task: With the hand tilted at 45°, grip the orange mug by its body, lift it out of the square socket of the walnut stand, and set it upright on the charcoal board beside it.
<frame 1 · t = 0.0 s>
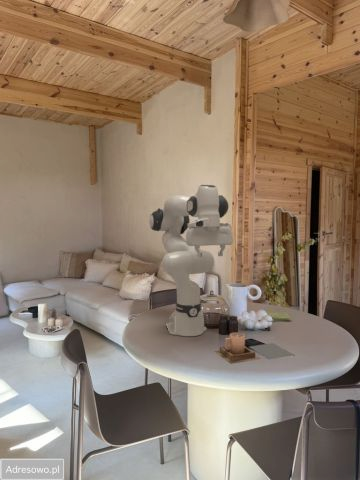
hand: (210, 256, 151), 39 cm above the table, tool pointing down, fingers open, 8 cm apart
phone: (261, 327, 185), on the table
washcloth: (272, 319, 199), on the table
orange mug: (237, 354, 143), point 1 cm above the table, touching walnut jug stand
charcoal board: (270, 354, 147), on the table
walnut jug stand: (237, 358, 143), on the table
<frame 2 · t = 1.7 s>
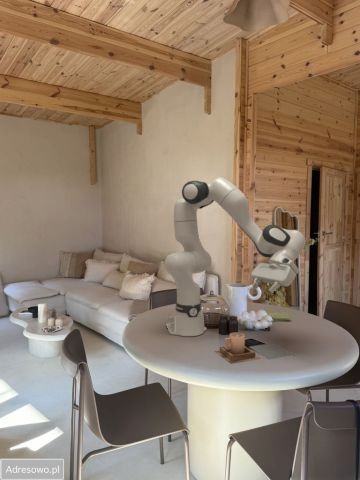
hand: (261, 289, 147), 26 cm above the table, tool tilted 45°, fingers open, 8 cm apart
nothing on the table moved.
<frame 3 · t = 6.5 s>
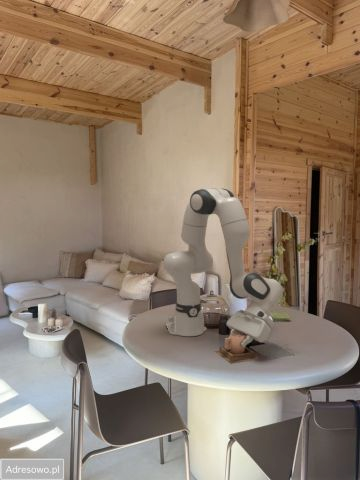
hand: (235, 343, 142), 6 cm above the table, tool tilted 45°, fingers closed on orange mug, 6 cm apart
orange mug: (237, 354, 143), point 2 cm above the table, touching gripper, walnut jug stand
everything else where it was.
when the fingers open (7 cm above the table, at t = 12.4 s): orange mug stays where it is, resting on charcoal board.
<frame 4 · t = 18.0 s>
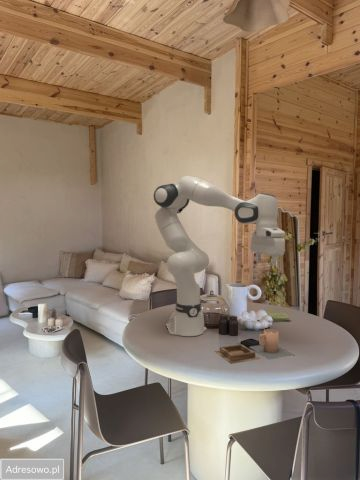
hand: (266, 264, 156), 35 cm above the table, tool pointing down, fingers open, 8 cm apart
orange mug: (270, 350, 147), point 1 cm above the table, touching charcoal board
everything else where it was.
at the end: orange mug inside the target area on the charcoal board (0.0 cm from its centre), point 1.5 cm above the charcoal board's base; orange mug tilted 0°; the gripper is holding nothing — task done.
